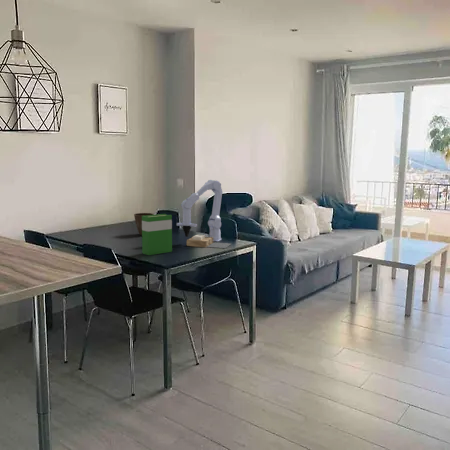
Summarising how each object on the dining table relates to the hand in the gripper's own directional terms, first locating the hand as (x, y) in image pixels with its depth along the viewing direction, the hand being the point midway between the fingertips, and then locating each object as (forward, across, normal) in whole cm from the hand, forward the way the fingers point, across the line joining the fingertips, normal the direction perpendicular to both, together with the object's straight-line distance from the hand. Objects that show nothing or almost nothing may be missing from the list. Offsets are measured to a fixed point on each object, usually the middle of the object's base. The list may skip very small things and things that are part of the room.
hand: (186, 236), depth 334 cm
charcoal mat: (+5, +24, 0) cm, 25 cm away
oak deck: (+5, +10, 0) cm, 11 cm away
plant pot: (+5, -44, +22) cm, 49 cm away
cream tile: (0, +9, 0) cm, 9 cm away
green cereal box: (+5, -7, -34) cm, 35 cm away
